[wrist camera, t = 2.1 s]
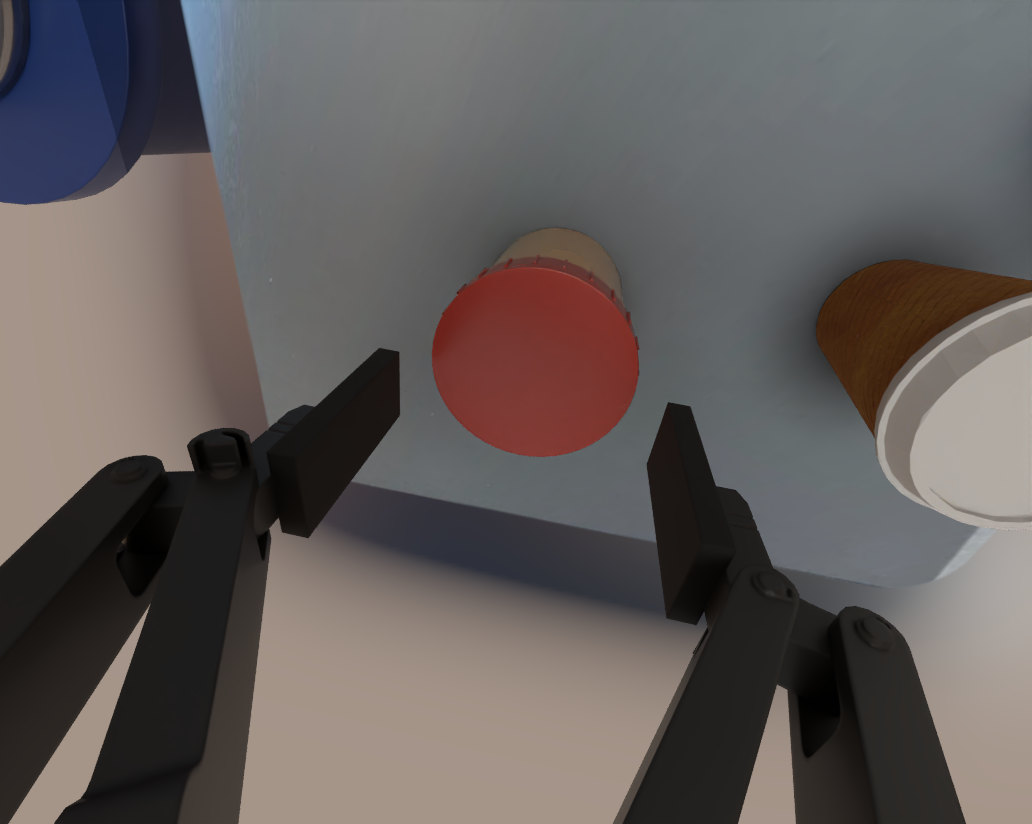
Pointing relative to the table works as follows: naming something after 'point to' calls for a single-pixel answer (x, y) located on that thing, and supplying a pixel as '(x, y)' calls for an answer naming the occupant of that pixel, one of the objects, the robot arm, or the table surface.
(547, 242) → the honey jar
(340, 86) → the table surface
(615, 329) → the jar lid
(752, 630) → the robot arm
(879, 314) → the disposable coffee cup
